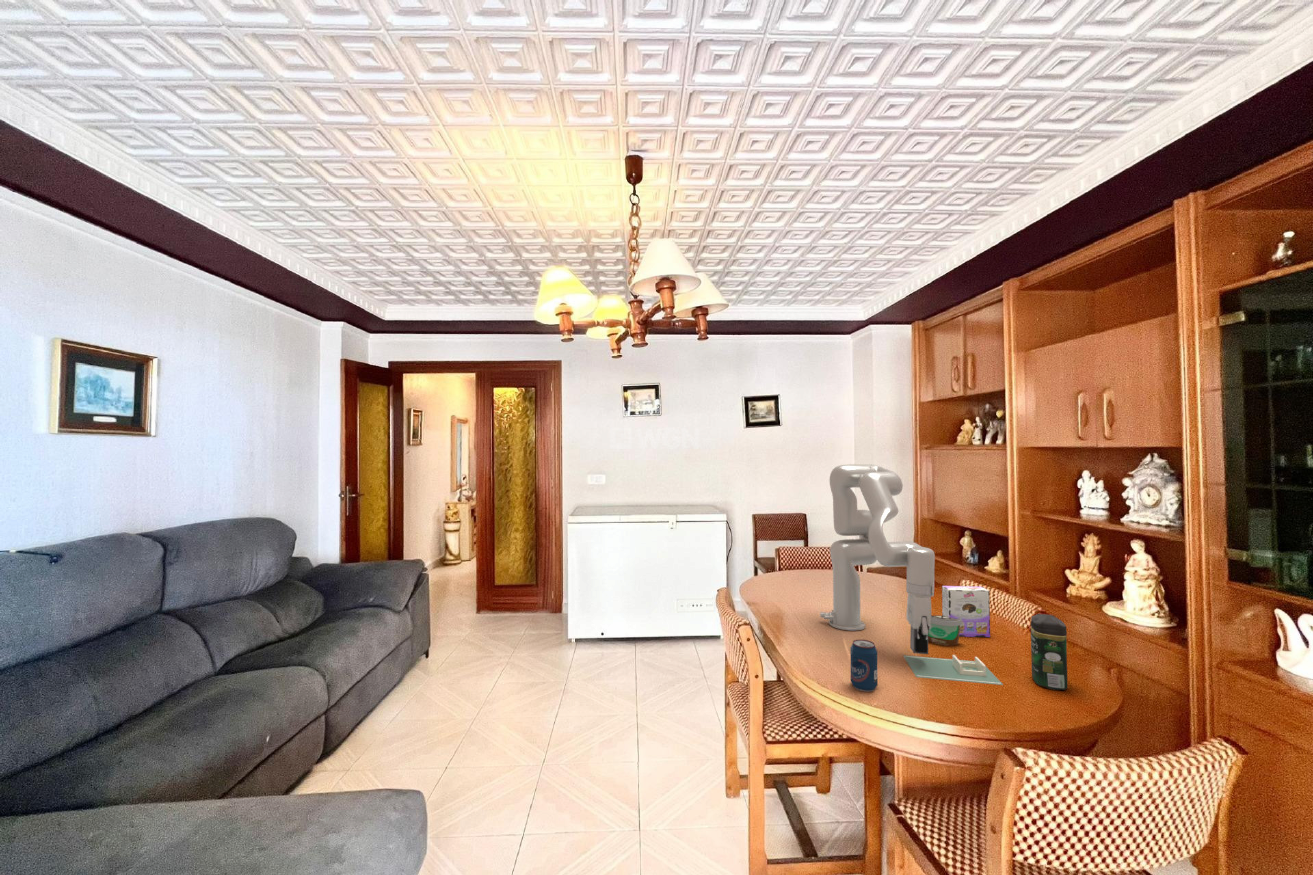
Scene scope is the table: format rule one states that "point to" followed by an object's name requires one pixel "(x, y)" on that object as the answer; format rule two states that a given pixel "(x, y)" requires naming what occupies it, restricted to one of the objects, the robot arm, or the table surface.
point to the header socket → (977, 665)
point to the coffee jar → (1049, 651)
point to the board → (946, 670)
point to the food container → (944, 630)
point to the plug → (912, 640)
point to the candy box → (968, 609)
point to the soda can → (864, 665)
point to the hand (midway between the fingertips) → (919, 648)
